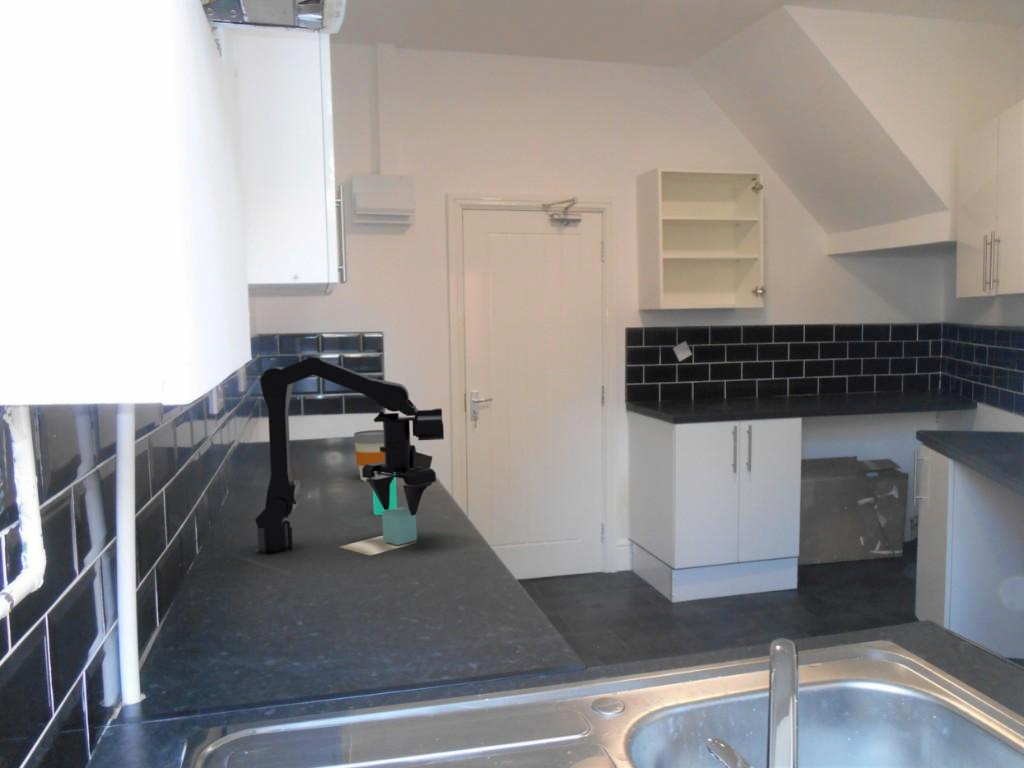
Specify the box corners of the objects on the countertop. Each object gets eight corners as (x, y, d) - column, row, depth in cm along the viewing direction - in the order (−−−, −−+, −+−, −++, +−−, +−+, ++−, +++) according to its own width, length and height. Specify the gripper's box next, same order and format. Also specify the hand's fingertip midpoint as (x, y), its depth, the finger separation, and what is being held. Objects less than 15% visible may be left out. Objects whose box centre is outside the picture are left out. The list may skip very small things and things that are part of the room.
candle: (368, 514, 208) (367, 468, 208) (383, 509, 214) (381, 464, 213) (387, 516, 206) (386, 469, 205) (401, 511, 211) (399, 465, 210)
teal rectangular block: (398, 545, 174) (397, 514, 173) (383, 541, 177) (381, 511, 177) (416, 539, 177) (415, 510, 177) (401, 536, 181) (400, 507, 181)
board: (370, 558, 168) (369, 555, 168) (338, 549, 175) (338, 546, 175) (417, 544, 177) (417, 542, 177) (386, 537, 185) (386, 534, 185)
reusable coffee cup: (351, 477, 262) (349, 431, 261) (388, 473, 268) (386, 428, 267) (360, 484, 251) (358, 436, 250) (399, 479, 256) (398, 432, 255)
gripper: (453, 440, 175) (456, 511, 176) (398, 434, 188) (401, 500, 189) (414, 446, 167) (416, 521, 168) (359, 440, 180) (362, 509, 181)
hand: (399, 512), depth 177 cm, fingers open, 9 cm apart
